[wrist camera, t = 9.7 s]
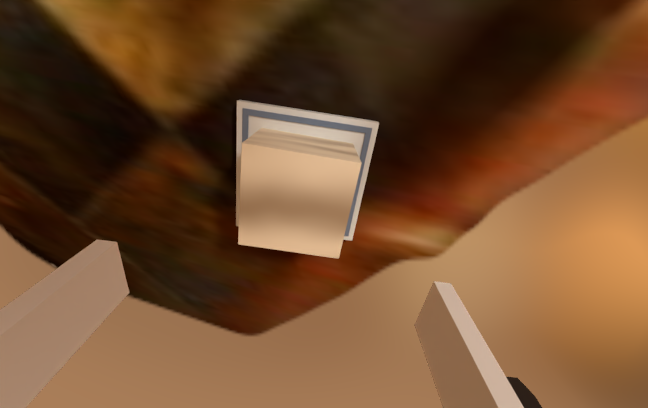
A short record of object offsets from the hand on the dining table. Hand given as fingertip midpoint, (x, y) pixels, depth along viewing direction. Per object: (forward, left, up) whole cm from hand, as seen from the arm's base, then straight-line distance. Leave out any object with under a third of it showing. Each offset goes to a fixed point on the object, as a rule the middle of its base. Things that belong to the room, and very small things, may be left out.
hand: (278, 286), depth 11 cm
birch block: (0, 0, -15) cm, 15 cm away
